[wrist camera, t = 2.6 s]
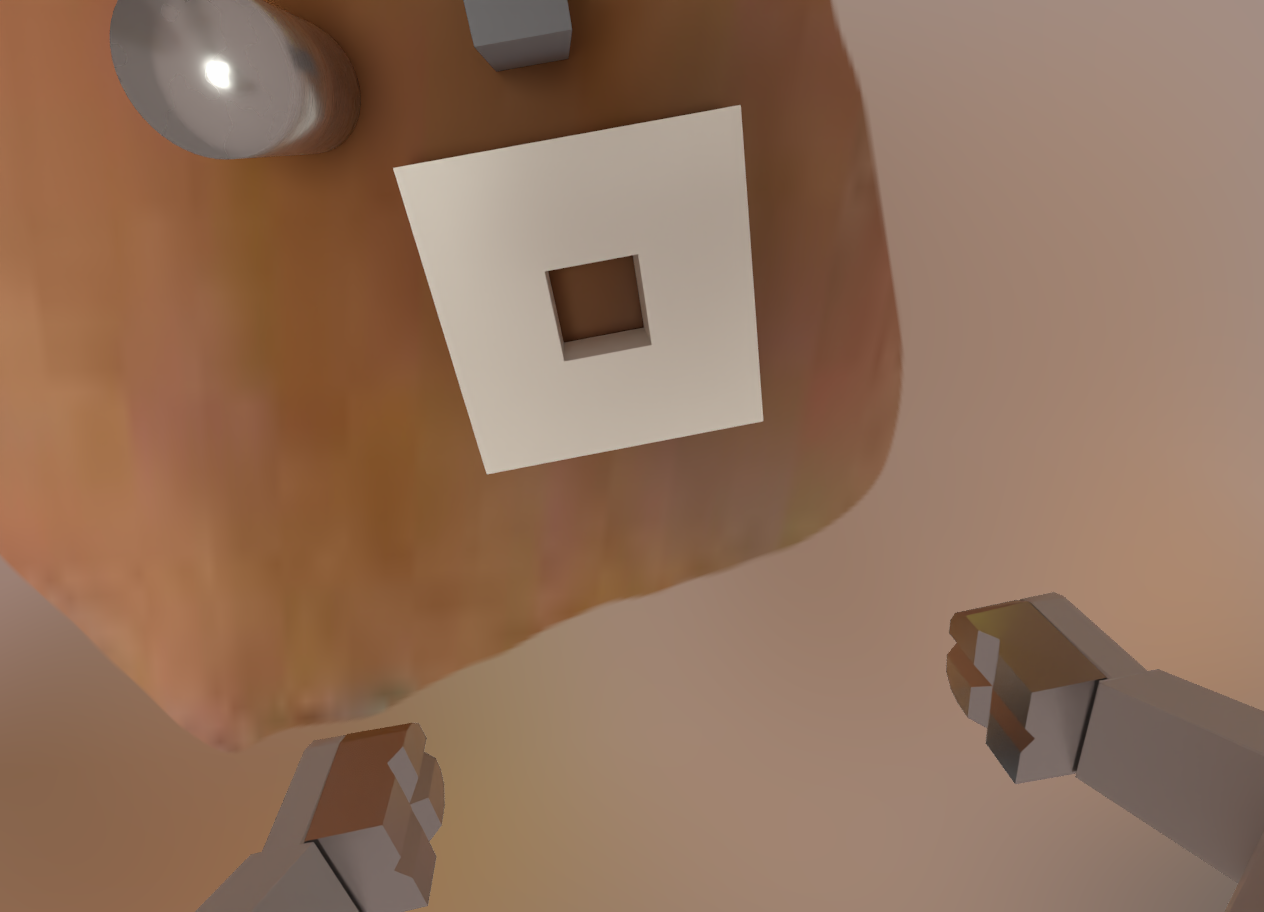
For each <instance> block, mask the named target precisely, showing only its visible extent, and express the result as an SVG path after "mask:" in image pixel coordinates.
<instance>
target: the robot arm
mask: <svg viewBox="0 0 1264 912" xmlns="http://www.w3.org/2000/svg"><path fill="white" fill-rule="evenodd" d="M949 634H950V635H951V636H952V637H953V639H954V640H955V641H956V642H957V643H956V645H955V646H954V647H953V648H952V649H951V651H950V652H949V653H948V654H947V665H946V672H947V676H948V680H949V684H950V688H951V690H952V693H953V695H954V696H955V699H956V700H957V703H958V704H959V705H960V707H961V709H962V710H963V712H964V713H965V715H966V716H967V717H968V718H969V719H971V720H973V721H975V722H976V723H978V724H980V725H982V726H984V727H986V728H987V735H986V744H987V746H988V747H989V748H990V750H991V751H992V752H993V754H994V755H995V757H996V758H997V760H998V761H999V762H1000V764H1001V765H1002V766H1003V768H1004V769H1005V771H1006V772H1007V773H1008V775H1009V776H1010V778H1011V779H1012V780H1013V782H1014V783H1015V784H1019V783H1024V782H1030V781H1036V780H1041V779H1047V778H1053V777H1059V776H1064V775H1070V774H1075V773H1076V776H1075V777H1076V778H1078V779H1079V780H1081V781H1082V782H1084V783H1086V784H1087V785H1088V786H1090V787H1092V788H1093V789H1095V790H1096V791H1098V792H1099V793H1101V794H1102V795H1104V796H1105V797H1107V798H1108V799H1110V800H1112V801H1113V802H1114V803H1116V804H1118V805H1119V806H1121V807H1122V808H1124V809H1125V810H1127V811H1128V812H1130V813H1132V814H1133V815H1134V816H1136V817H1137V818H1139V819H1141V820H1142V821H1143V822H1145V823H1146V824H1148V825H1150V826H1151V827H1153V828H1154V829H1156V830H1157V831H1159V832H1160V833H1162V834H1163V835H1165V836H1166V837H1168V838H1169V839H1171V840H1173V841H1174V842H1175V843H1177V844H1179V845H1180V846H1182V847H1183V848H1185V849H1186V850H1188V851H1189V852H1191V853H1192V854H1194V855H1195V856H1197V857H1199V858H1200V859H1201V860H1203V861H1204V862H1206V863H1208V864H1209V865H1211V866H1212V867H1214V868H1215V869H1217V870H1218V871H1220V872H1221V873H1223V874H1224V875H1226V876H1228V877H1229V878H1230V879H1232V880H1233V881H1235V882H1237V883H1238V885H1237V887H1236V889H1235V891H1234V893H1233V895H1232V897H1231V899H1230V901H1229V903H1228V905H1227V907H1226V910H1225V912H1264V711H1262V710H1259V709H1256V708H1254V707H1252V706H1249V705H1247V704H1244V703H1242V702H1239V701H1237V700H1234V699H1231V698H1229V697H1227V696H1224V695H1222V694H1219V693H1217V692H1214V691H1212V690H1209V689H1206V688H1204V687H1202V686H1199V685H1197V684H1194V683H1191V682H1189V681H1187V680H1184V679H1182V678H1179V677H1177V676H1174V675H1172V674H1169V673H1167V672H1164V671H1161V670H1159V669H1157V670H1151V671H1147V670H1146V669H1145V668H1144V667H1143V666H1141V665H1140V664H1139V663H1138V662H1137V661H1136V660H1135V659H1134V658H1132V657H1131V656H1130V655H1129V654H1128V653H1127V652H1126V651H1125V650H1124V649H1122V648H1121V647H1120V646H1119V645H1118V644H1117V643H1116V642H1115V641H1113V640H1112V639H1111V638H1110V637H1109V636H1108V635H1107V634H1106V633H1104V632H1103V631H1102V630H1101V629H1100V628H1099V627H1098V626H1097V625H1095V624H1094V623H1093V622H1092V621H1091V620H1090V619H1089V618H1088V617H1086V616H1085V615H1084V614H1083V613H1082V612H1081V611H1080V610H1079V609H1078V608H1076V607H1075V606H1074V605H1073V604H1072V603H1071V602H1070V601H1068V600H1067V599H1066V598H1065V597H1064V596H1062V595H1060V594H1057V593H1054V592H1053V593H1048V594H1043V595H1038V596H1034V597H1029V598H1025V599H1020V600H1014V601H1009V602H1005V603H1000V604H995V605H990V606H986V607H981V608H976V609H971V610H967V611H962V612H957V613H955V614H954V616H953V617H952V619H951V620H950V629H949ZM426 739H427V738H426V736H425V734H424V732H423V730H422V728H421V727H420V724H419V723H409V724H403V725H398V726H392V727H385V728H380V729H374V730H368V731H362V732H357V733H351V734H347V735H343V736H338V737H332V738H326V739H320V740H315V741H313V742H312V743H311V744H310V745H309V746H308V747H307V748H306V749H305V751H304V752H303V755H302V758H301V760H300V762H299V764H298V767H297V769H296V772H295V774H294V777H293V779H292V781H291V784H290V786H289V788H288V791H287V793H286V795H285V798H284V800H283V803H282V805H281V808H280V810H279V812H278V815H277V817H276V819H275V822H274V824H273V827H272V829H271V832H270V834H269V836H268V838H267V841H266V843H265V846H264V848H263V850H262V852H260V853H255V854H251V855H250V856H249V857H248V858H247V859H246V860H245V861H244V862H243V863H242V864H241V865H240V866H239V867H238V868H237V869H236V871H235V872H233V873H232V875H230V876H229V878H228V879H227V880H226V881H225V882H224V883H223V884H222V885H221V886H220V887H219V888H218V889H217V890H216V891H215V892H214V893H213V894H212V895H211V896H210V897H209V898H208V899H207V900H206V901H205V902H204V903H203V904H202V905H201V906H200V907H199V908H198V909H197V910H196V912H404V911H408V910H412V909H416V908H421V907H425V906H428V901H429V896H430V890H431V884H432V879H433V873H434V867H435V861H436V855H435V853H434V851H433V849H432V847H431V844H430V843H429V841H430V840H431V839H432V837H433V836H434V835H435V833H436V832H437V831H438V829H439V828H440V827H441V825H442V819H443V813H444V806H445V804H444V803H445V802H444V782H443V777H442V773H441V769H440V766H439V764H438V762H437V760H436V758H435V757H433V756H431V755H429V754H427V753H425V752H424V749H425V744H426Z"/></svg>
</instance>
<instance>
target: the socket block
mask: <svg viewBox="0 0 1264 912" xmlns="http://www.w3.org/2000/svg"><path fill="white" fill-rule="evenodd" d="M393 170H394V173H395V176H396V179H397V183H398V186H399V189H400V192H401V196H402V199H403V202H404V205H405V209H406V212H407V215H408V219H409V222H410V225H411V228H412V232H413V235H414V238H415V241H416V245H417V248H418V251H419V254H420V258H421V261H422V264H423V268H424V271H425V274H426V277H427V281H428V284H429V287H430V290H431V294H432V297H433V300H434V303H435V307H436V310H437V313H438V317H439V320H440V323H441V326H442V330H443V333H444V336H445V339H446V343H447V346H448V349H449V352H450V356H451V359H452V362H453V366H454V369H455V372H456V375H457V379H458V382H459V385H460V388H461V392H462V395H463V398H464V401H465V405H466V408H467V411H468V415H469V418H470V421H471V424H472V428H473V431H474V434H475V437H476V441H477V444H478V447H479V450H480V454H481V457H482V460H483V464H484V467H485V470H486V473H487V474H491V473H496V472H502V471H507V470H512V469H517V468H523V467H528V466H533V465H538V464H543V463H549V462H554V461H559V460H564V459H569V458H575V457H580V456H585V455H590V454H595V453H601V452H606V451H611V450H616V449H621V448H627V447H632V446H637V445H642V444H647V443H653V442H658V441H663V440H668V439H673V438H679V437H684V436H689V435H694V434H699V433H705V432H710V431H715V430H720V429H725V428H731V427H736V426H741V425H746V424H752V423H757V422H762V421H763V410H762V396H761V382H760V368H759V354H758V340H757V326H756V312H755V298H754V284H753V270H752V256H751V242H750V228H749V214H748V200H747V185H746V171H745V157H744V143H743V129H742V115H741V105H737V106H732V107H726V108H721V109H715V110H710V111H704V112H699V113H693V114H688V115H682V116H677V117H671V118H666V119H660V120H655V121H649V122H644V123H638V124H633V125H627V126H622V127H616V128H611V129H605V130H600V131H594V132H589V133H583V134H578V135H572V136H566V137H561V138H555V139H550V140H544V141H539V142H533V143H528V144H522V145H517V146H511V147H506V148H500V149H495V150H489V151H484V152H478V153H473V154H467V155H462V156H456V157H451V158H445V159H440V160H434V161H429V162H423V163H418V164H412V165H407V166H401V167H396V168H393ZM631 255H633V261H634V267H635V274H636V280H637V287H638V293H639V299H640V306H641V312H642V319H643V325H644V328H639V329H633V330H628V331H623V332H617V333H612V334H607V335H601V336H596V337H591V338H585V339H580V340H575V341H569V342H564V341H563V337H562V332H561V328H560V323H559V318H558V314H557V309H556V305H555V300H554V295H553V291H552V286H551V282H550V277H549V272H548V271H550V270H556V269H561V268H567V267H572V266H577V265H583V264H588V263H593V262H599V261H604V260H610V259H615V258H620V257H626V256H631Z"/></svg>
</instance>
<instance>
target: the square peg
mask: <svg viewBox="0 0 1264 912" xmlns="http://www.w3.org/2000/svg"><path fill="white" fill-rule="evenodd" d="M463 1H464V5H465V9H466V14H467V18H468V22H469V27H470V31H471V35H472V39H473V44H474V47H475V48H476V49H477V51H478V52H479V53H480V54H481V55H482V56H483V57H484V58H485V59H486V61H487V62H488V63H489V64H490V65H491V66H492V67H493V68H494V70H495V71H496V72H497V71H502V70H508V69H514V68H519V67H525V66H530V65H536V64H542V63H547V62H553V61H558V60H564V59H568V57H569V50H570V42H571V35H572V25H571V19H570V13H569V8H568V2H567V0H463Z"/></svg>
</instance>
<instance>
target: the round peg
mask: <svg viewBox="0 0 1264 912" xmlns="http://www.w3.org/2000/svg"><path fill="white" fill-rule="evenodd" d="M110 48H111V54H112V60H113V63H114V67H115V70H116V73H117V76H118V78H119V81H120V83H121V85H122V87H123V89H124V91H125V93H126V95H127V96H128V98H129V99H130V101H131V102H132V104H133V106H134V107H135V108H136V110H137V111H138V112H139V113H140V115H141V116H142V117H143V118H144V119H145V120H146V121H147V122H148V123H149V124H150V125H151V126H152V127H153V128H154V129H155V130H156V131H157V132H159V133H160V134H161V135H162V136H164V137H165V138H166V139H168V140H169V141H171V142H172V143H174V144H176V145H177V146H179V147H181V148H183V149H185V150H187V151H190V152H192V153H194V154H198V155H201V156H204V157H209V158H215V159H240V158H257V157H273V156H289V155H305V154H318V153H324V152H327V151H330V150H332V149H335V148H336V147H338V146H339V145H341V144H342V143H343V142H344V141H345V140H346V139H347V138H348V137H349V136H350V135H351V133H352V131H353V130H354V128H355V126H356V123H357V121H358V117H359V113H360V105H361V96H360V88H359V83H358V79H357V76H356V73H355V71H354V68H353V66H352V64H351V62H350V60H349V58H348V57H347V55H346V54H345V52H344V51H343V50H342V48H341V47H340V46H339V44H338V43H337V42H336V41H335V40H334V39H333V38H332V37H331V36H329V35H328V34H327V33H326V32H325V31H323V30H322V29H320V28H319V27H317V26H316V25H314V24H312V23H310V22H307V21H305V20H303V19H301V18H299V17H297V16H295V15H293V14H290V13H288V12H286V11H284V10H282V9H280V8H278V7H276V6H273V5H271V4H269V3H267V2H265V1H263V0H118V2H117V4H116V6H115V8H114V11H113V15H112V19H111V26H110Z"/></svg>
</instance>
